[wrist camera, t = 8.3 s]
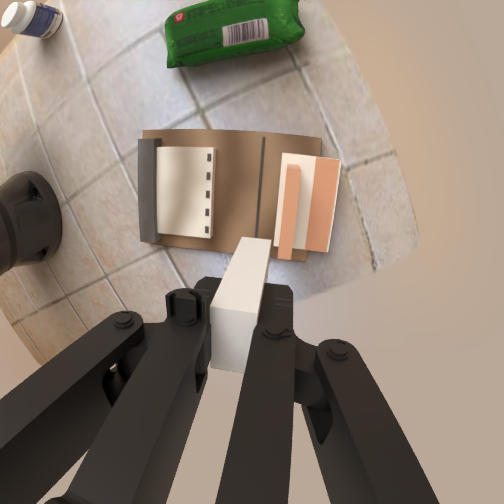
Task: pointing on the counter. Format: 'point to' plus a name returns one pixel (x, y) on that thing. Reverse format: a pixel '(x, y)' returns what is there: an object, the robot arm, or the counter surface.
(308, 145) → the wooden base board
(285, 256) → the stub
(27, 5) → the pill bottle
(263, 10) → the snack package
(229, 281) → the robot arm
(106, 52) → the counter surface
